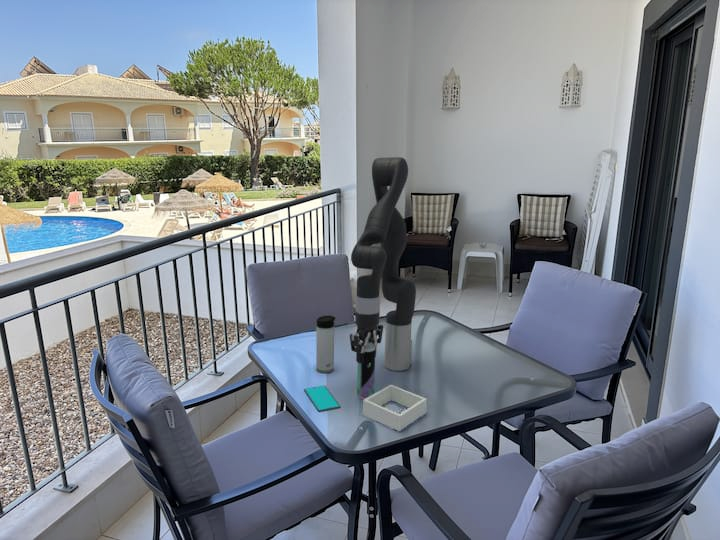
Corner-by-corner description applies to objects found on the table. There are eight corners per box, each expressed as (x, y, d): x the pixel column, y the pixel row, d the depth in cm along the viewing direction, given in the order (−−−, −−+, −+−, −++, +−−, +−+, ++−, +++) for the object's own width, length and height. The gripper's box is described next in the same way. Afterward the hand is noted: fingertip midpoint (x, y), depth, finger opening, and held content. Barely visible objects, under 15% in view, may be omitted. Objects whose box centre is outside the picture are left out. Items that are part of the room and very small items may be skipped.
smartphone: (318, 411, 152) (303, 389, 166) (318, 413, 153) (303, 391, 166) (341, 406, 155) (324, 385, 169) (341, 409, 156) (324, 387, 169)
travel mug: (332, 374, 178) (332, 320, 173) (314, 372, 179) (314, 318, 174) (336, 366, 184) (337, 314, 179) (319, 364, 185) (319, 313, 180)
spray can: (368, 401, 160) (369, 342, 155) (353, 396, 162) (354, 338, 157) (377, 394, 164) (378, 336, 159) (362, 390, 167) (364, 333, 162)
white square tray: (390, 398, 161) (390, 384, 160) (426, 413, 153) (426, 398, 152) (362, 415, 151) (363, 400, 150) (399, 432, 143) (399, 416, 142)
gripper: (372, 301, 164) (371, 350, 168) (342, 312, 153) (342, 363, 157) (391, 306, 159) (389, 356, 163) (361, 317, 148) (360, 370, 152)
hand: (366, 359), depth 160 cm, fingers closed on spray can, 5 cm apart
